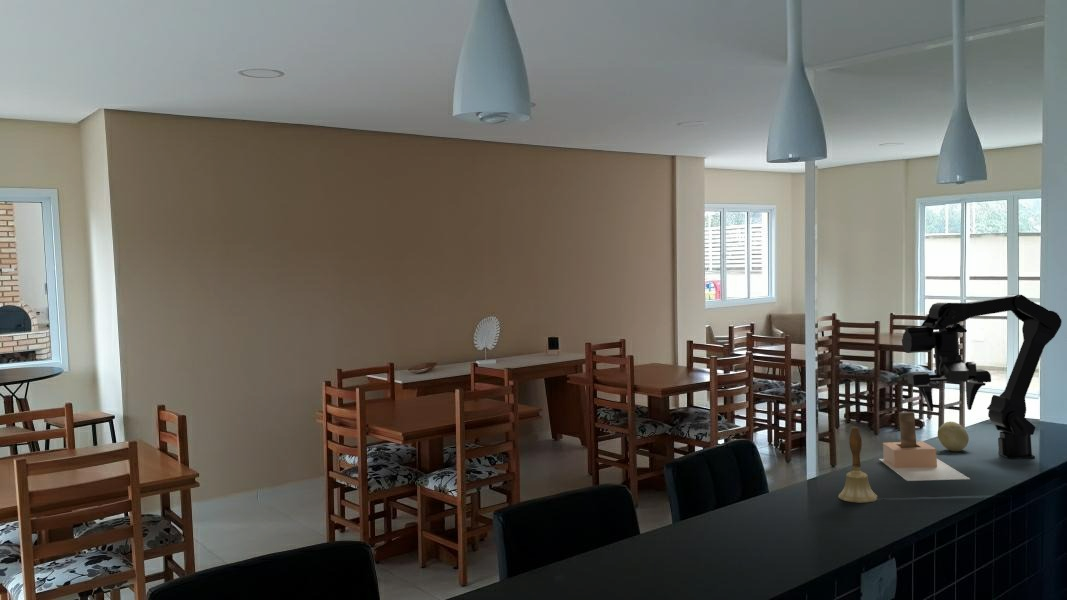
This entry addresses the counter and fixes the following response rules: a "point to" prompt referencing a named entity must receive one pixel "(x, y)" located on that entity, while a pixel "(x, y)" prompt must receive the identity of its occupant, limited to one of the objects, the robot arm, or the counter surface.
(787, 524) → the counter surface
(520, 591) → the counter surface
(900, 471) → the collar plate
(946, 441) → the potato
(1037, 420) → the counter surface
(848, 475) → the hand bell
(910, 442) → the walnut peg
